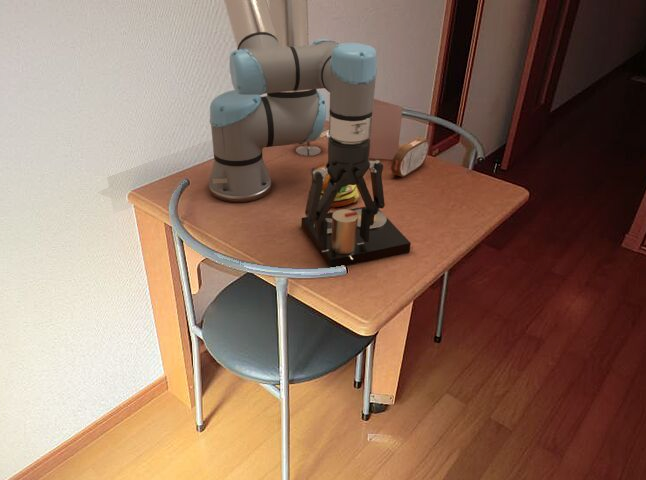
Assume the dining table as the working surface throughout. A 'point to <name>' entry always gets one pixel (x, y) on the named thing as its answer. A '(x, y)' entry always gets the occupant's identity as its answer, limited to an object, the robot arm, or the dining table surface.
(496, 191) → the dining table surface
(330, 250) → the stove
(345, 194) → the cheeseburger
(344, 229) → the stove knob
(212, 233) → the dining table surface
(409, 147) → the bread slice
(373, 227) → the burners
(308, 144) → the wine glass
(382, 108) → the greeting card
